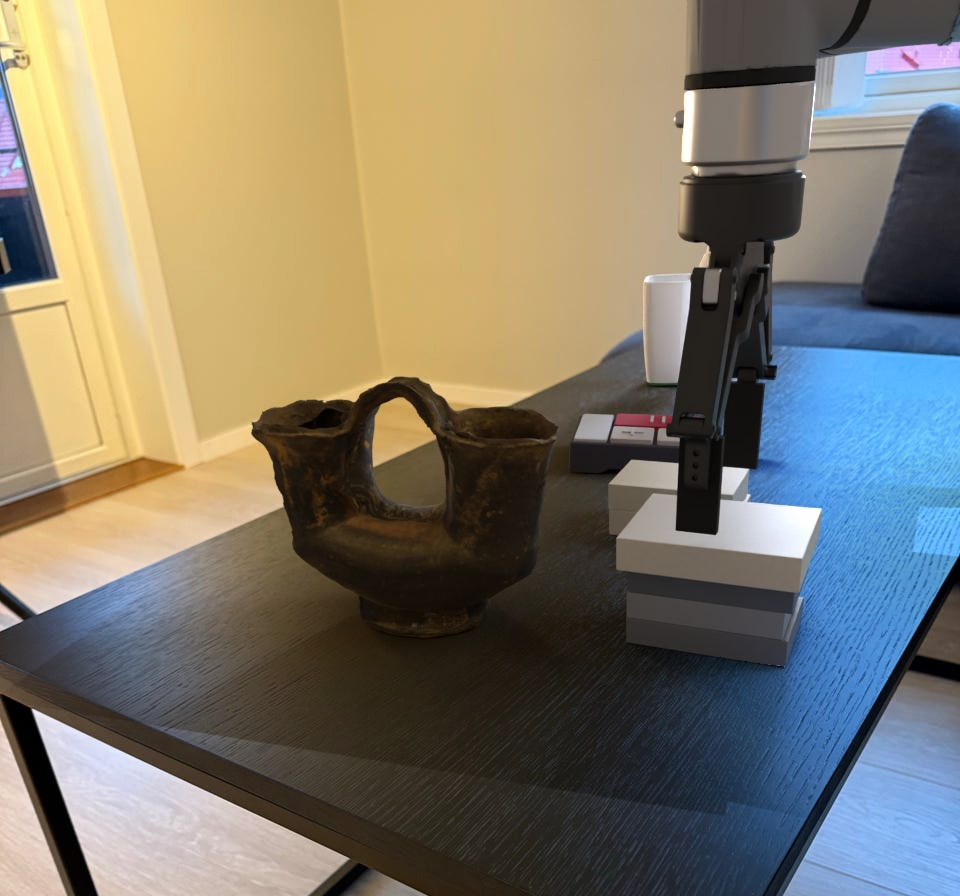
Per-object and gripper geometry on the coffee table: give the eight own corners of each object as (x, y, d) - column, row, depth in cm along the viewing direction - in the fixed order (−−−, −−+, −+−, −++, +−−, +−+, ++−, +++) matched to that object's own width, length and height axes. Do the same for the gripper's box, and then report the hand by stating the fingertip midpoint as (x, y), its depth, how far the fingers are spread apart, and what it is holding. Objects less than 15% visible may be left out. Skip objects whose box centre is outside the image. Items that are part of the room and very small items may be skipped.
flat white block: (818, 540, 71) (822, 508, 69) (799, 593, 63) (802, 558, 62) (652, 522, 76) (652, 492, 75) (615, 570, 69) (615, 537, 67)
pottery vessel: (262, 626, 79) (213, 393, 69) (321, 573, 88) (285, 359, 78) (545, 658, 71) (535, 400, 61) (579, 596, 80) (575, 361, 70)
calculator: (704, 441, 102) (569, 435, 105) (701, 479, 104) (568, 472, 107) (705, 413, 112) (580, 408, 114) (701, 448, 114) (579, 442, 117)
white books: (749, 519, 92) (752, 468, 90) (732, 548, 86) (736, 495, 84) (630, 507, 97) (631, 459, 94) (608, 534, 91) (607, 483, 89)
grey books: (802, 621, 73) (811, 544, 70) (786, 668, 68) (795, 586, 64) (652, 601, 78) (654, 528, 75) (625, 642, 72) (626, 565, 69)
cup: (692, 375, 142) (697, 272, 135) (691, 388, 136) (695, 280, 129) (644, 376, 144) (646, 274, 137) (640, 388, 138) (642, 282, 130)
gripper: (725, 159, 68) (708, 441, 79) (621, 187, 49) (616, 557, 59) (833, 154, 65) (800, 448, 76) (767, 182, 46) (735, 572, 56)
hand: (719, 496), depth 67 cm, fingers open, 13 cm apart
